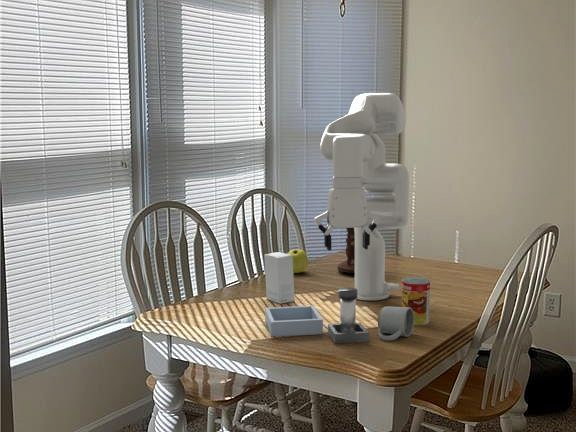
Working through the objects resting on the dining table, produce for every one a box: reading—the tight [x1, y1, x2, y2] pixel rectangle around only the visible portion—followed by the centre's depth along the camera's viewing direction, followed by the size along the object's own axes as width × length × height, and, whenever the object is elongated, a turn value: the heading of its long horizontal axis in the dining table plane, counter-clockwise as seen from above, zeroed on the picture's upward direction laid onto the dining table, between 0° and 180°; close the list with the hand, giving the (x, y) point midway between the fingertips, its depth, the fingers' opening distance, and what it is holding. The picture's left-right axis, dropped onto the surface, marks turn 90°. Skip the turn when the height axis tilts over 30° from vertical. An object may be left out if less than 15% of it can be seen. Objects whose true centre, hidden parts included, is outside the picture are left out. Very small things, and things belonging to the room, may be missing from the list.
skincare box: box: [263, 251, 296, 304], centre depth 236 cm, size 8×6×15 cm
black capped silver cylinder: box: [337, 286, 358, 333], centre depth 199 cm, size 5×5×13 cm
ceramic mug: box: [377, 306, 415, 342], centre depth 200 cm, size 11×8×8 cm
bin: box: [264, 305, 324, 337], centre depth 208 cm, size 14×14×4 cm
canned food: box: [401, 276, 431, 326], centre depth 212 cm, size 8×8×12 cm
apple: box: [286, 248, 309, 274], centre depth 273 cm, size 8×8×10 cm
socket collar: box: [327, 322, 370, 345], centre depth 199 cm, size 9×9×2 cm
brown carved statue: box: [337, 228, 355, 274], centre depth 272 cm, size 15×15×20 cm
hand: (347, 249), depth 196 cm, fingers open, 9 cm apart
